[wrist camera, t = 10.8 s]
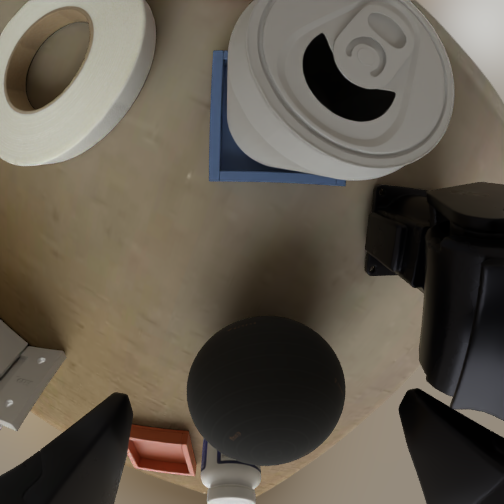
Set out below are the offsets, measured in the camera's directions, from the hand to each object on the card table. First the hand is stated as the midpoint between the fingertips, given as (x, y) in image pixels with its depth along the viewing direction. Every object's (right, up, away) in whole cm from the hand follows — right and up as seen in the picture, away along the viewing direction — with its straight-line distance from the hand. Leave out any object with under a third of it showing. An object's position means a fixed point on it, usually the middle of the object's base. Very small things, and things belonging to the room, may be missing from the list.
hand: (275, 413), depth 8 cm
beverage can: (+1, +13, +9) cm, 16 cm away
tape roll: (-15, +18, +4) cm, 23 cm away
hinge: (-25, -4, +13) cm, 28 cm away
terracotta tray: (-11, -17, +18) cm, 27 cm away
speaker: (0, -3, +14) cm, 15 cm away
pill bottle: (-3, -13, +17) cm, 22 cm away
